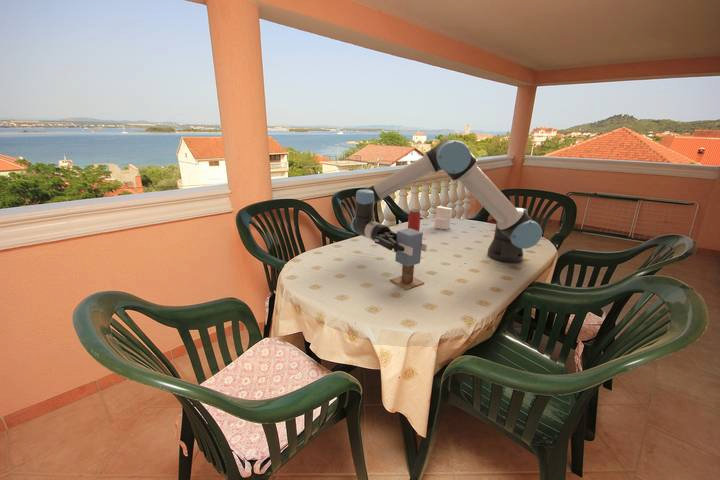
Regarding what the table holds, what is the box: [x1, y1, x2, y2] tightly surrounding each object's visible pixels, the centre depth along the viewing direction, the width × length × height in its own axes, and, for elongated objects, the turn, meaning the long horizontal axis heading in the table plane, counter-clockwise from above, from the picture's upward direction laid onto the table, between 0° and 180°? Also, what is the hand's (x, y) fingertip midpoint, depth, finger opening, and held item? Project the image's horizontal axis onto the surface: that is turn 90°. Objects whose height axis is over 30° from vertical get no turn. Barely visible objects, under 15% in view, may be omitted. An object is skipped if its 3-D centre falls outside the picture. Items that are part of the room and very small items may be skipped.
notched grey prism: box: [394, 228, 423, 267], centre depth 116 cm, size 6×6×12 cm
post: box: [389, 265, 425, 291], centre depth 119 cm, size 9×9×8 cm
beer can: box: [407, 209, 422, 232], centre depth 180 cm, size 7×7×12 cm
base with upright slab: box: [434, 205, 453, 230], centre depth 188 cm, size 9×9×12 cm
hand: (419, 250), depth 112 cm, fingers closed on notched grey prism, 6 cm apart
